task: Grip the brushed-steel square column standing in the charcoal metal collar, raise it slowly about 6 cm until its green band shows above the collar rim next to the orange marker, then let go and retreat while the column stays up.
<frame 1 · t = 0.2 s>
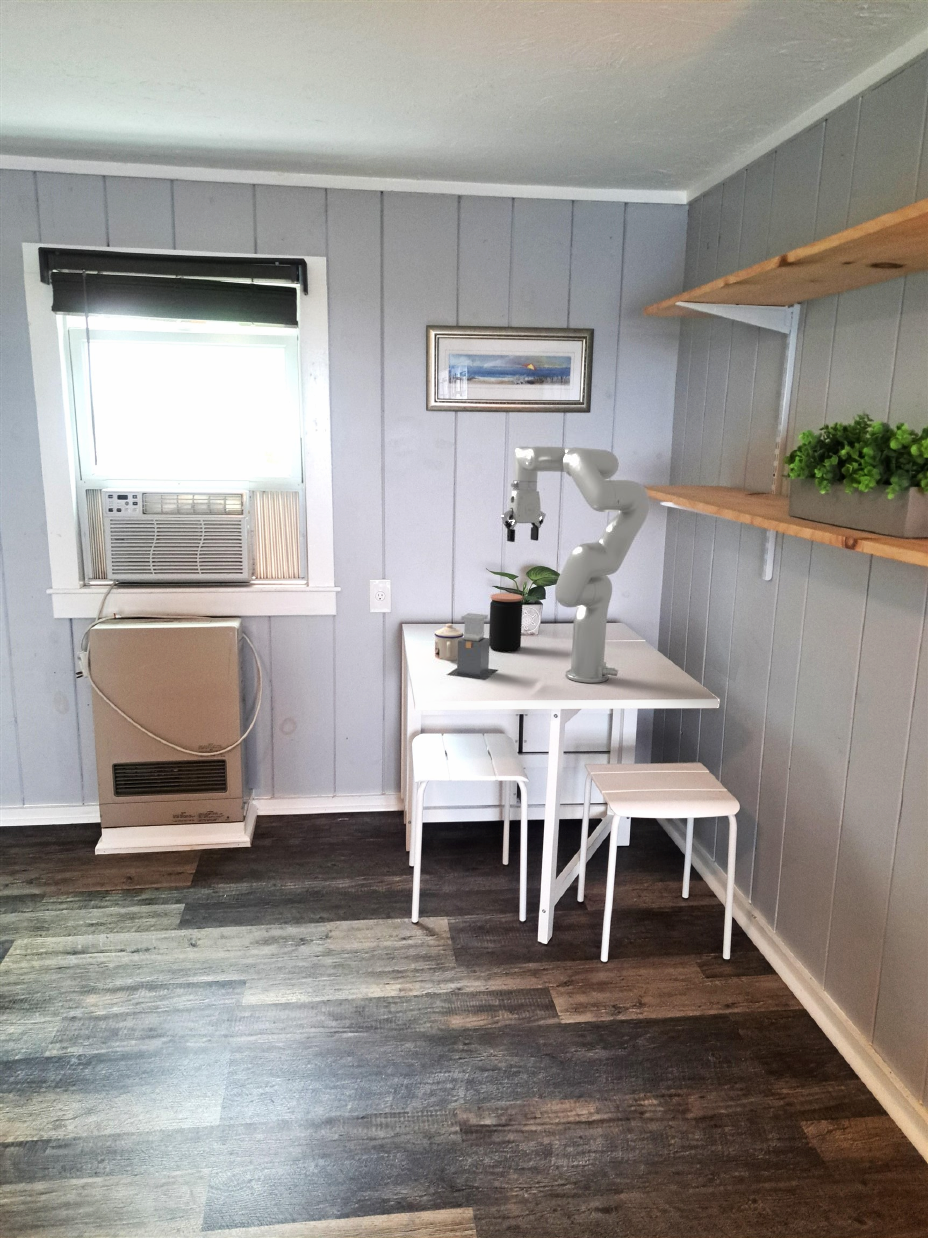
hand: (522, 540, 268), 37 cm above the table, tool pointing down, fingers open, 9 cm apart
stand: (472, 676, 248), on the table
column: (473, 644, 246), point 10 cm above the table, slide at 0.0 cm
teacup with lid: (448, 662, 264), on the table
coffee jar: (504, 649, 282), on the table
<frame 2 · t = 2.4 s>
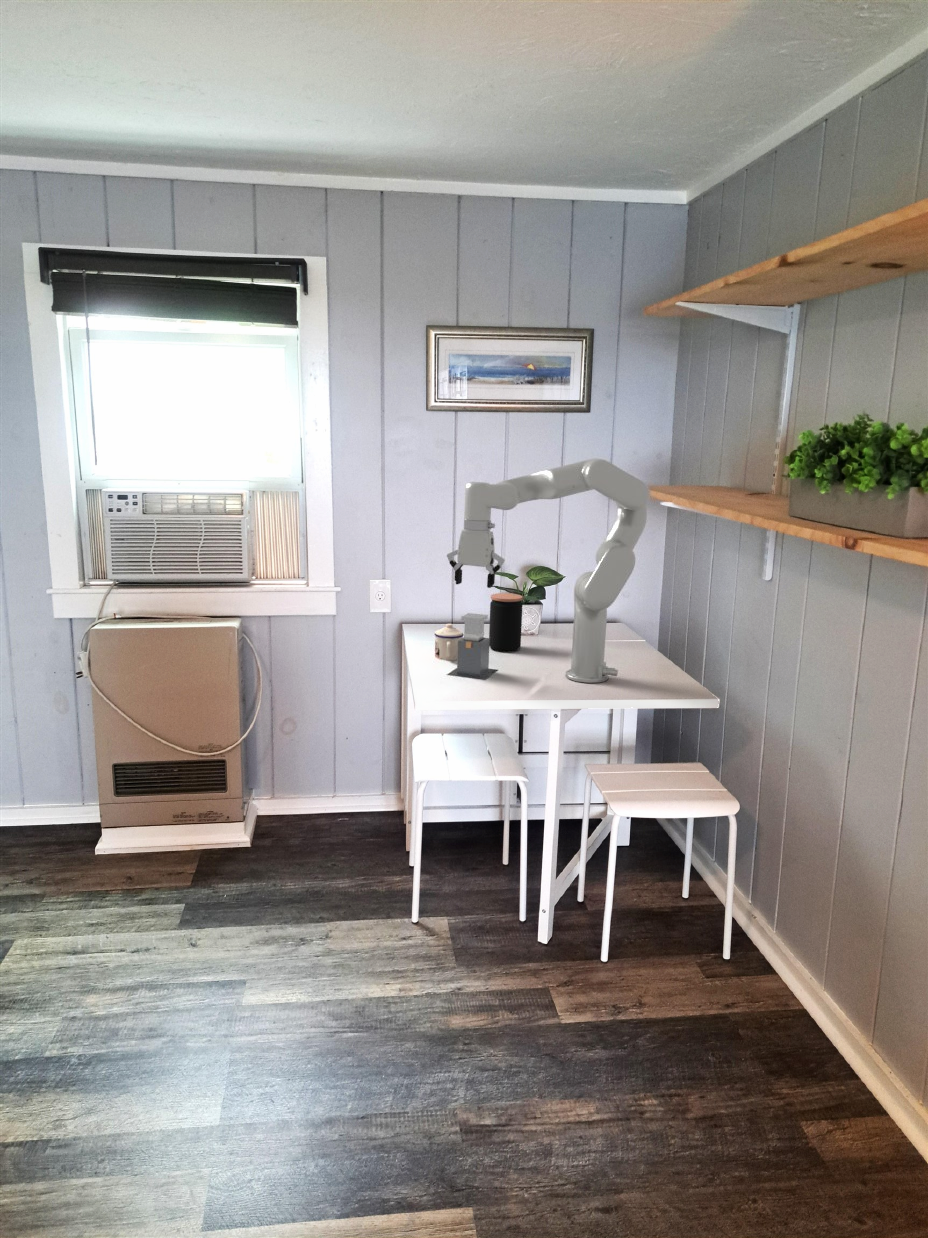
hand: (474, 585, 242), 27 cm above the table, tool pointing down, fingers open, 9 cm apart
nothing on the table moved.
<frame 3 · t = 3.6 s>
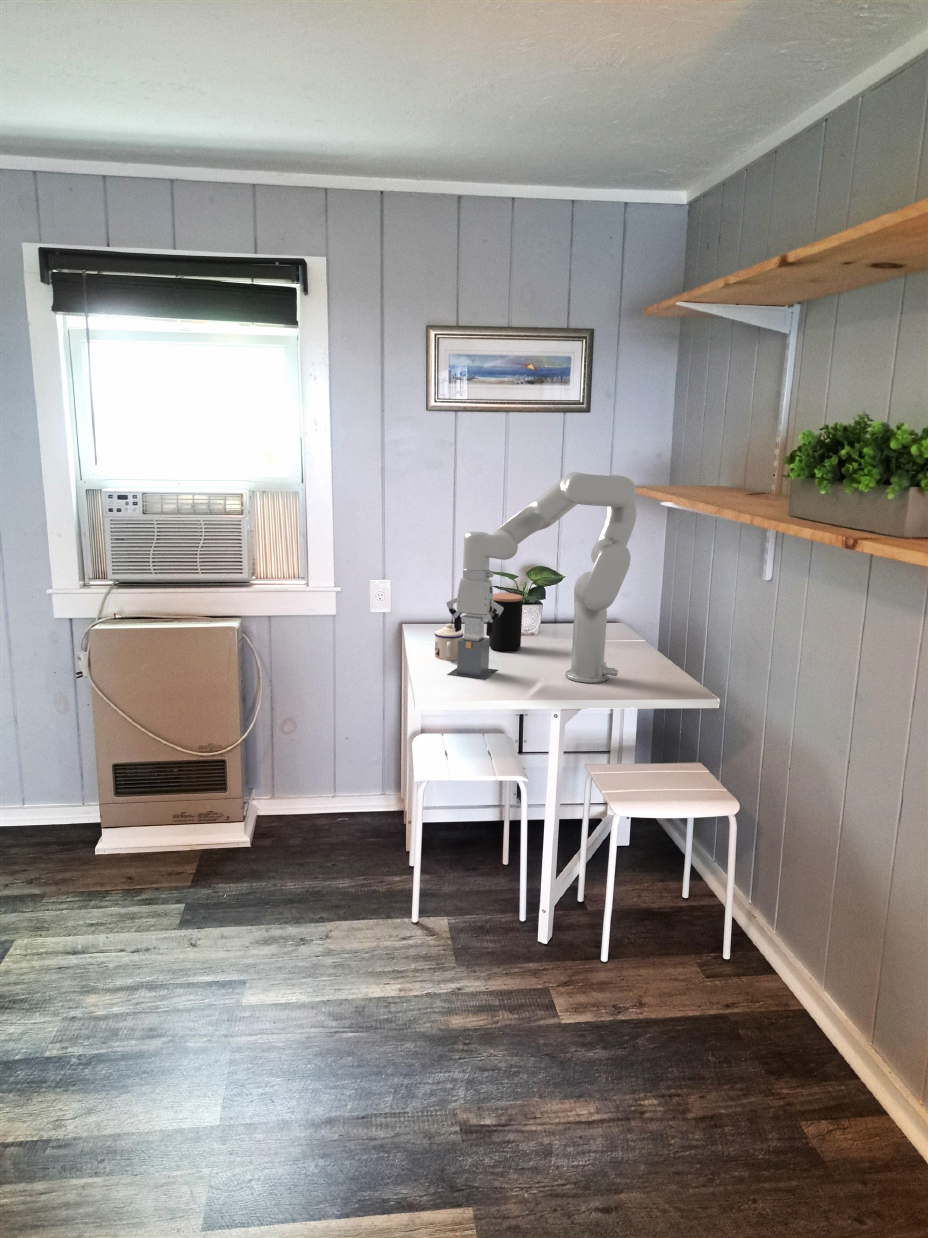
hand: (473, 632, 245), 13 cm above the table, tool pointing down, fingers open, 9 cm apart
nothing on the table moved.
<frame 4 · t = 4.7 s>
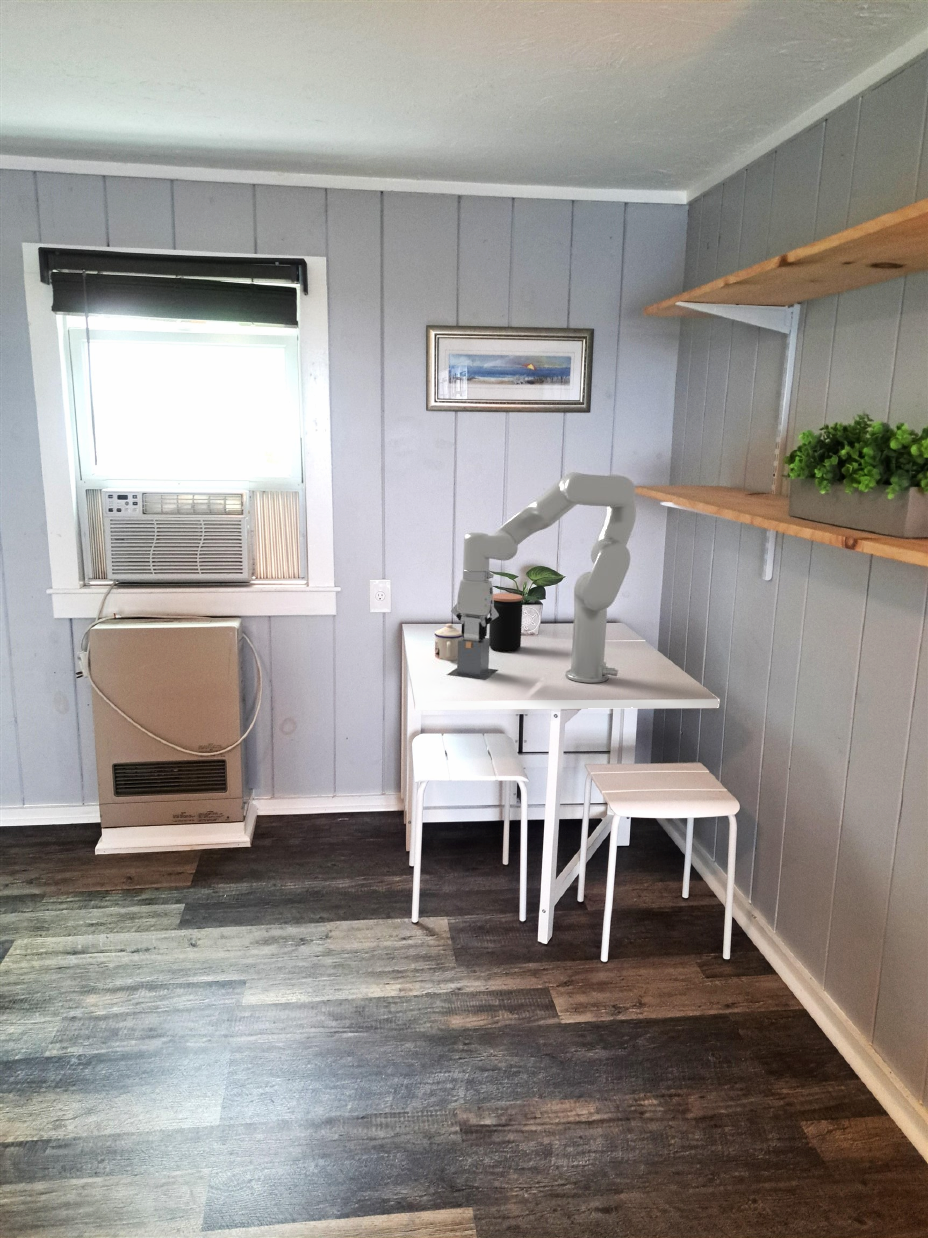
hand: (473, 637, 246), 12 cm above the table, tool pointing down, fingers closed on column, 4 cm apart
column: (473, 644, 246), point 10 cm above the table, slide at 0.0 cm, touching gripper, stand
everything else where it was.
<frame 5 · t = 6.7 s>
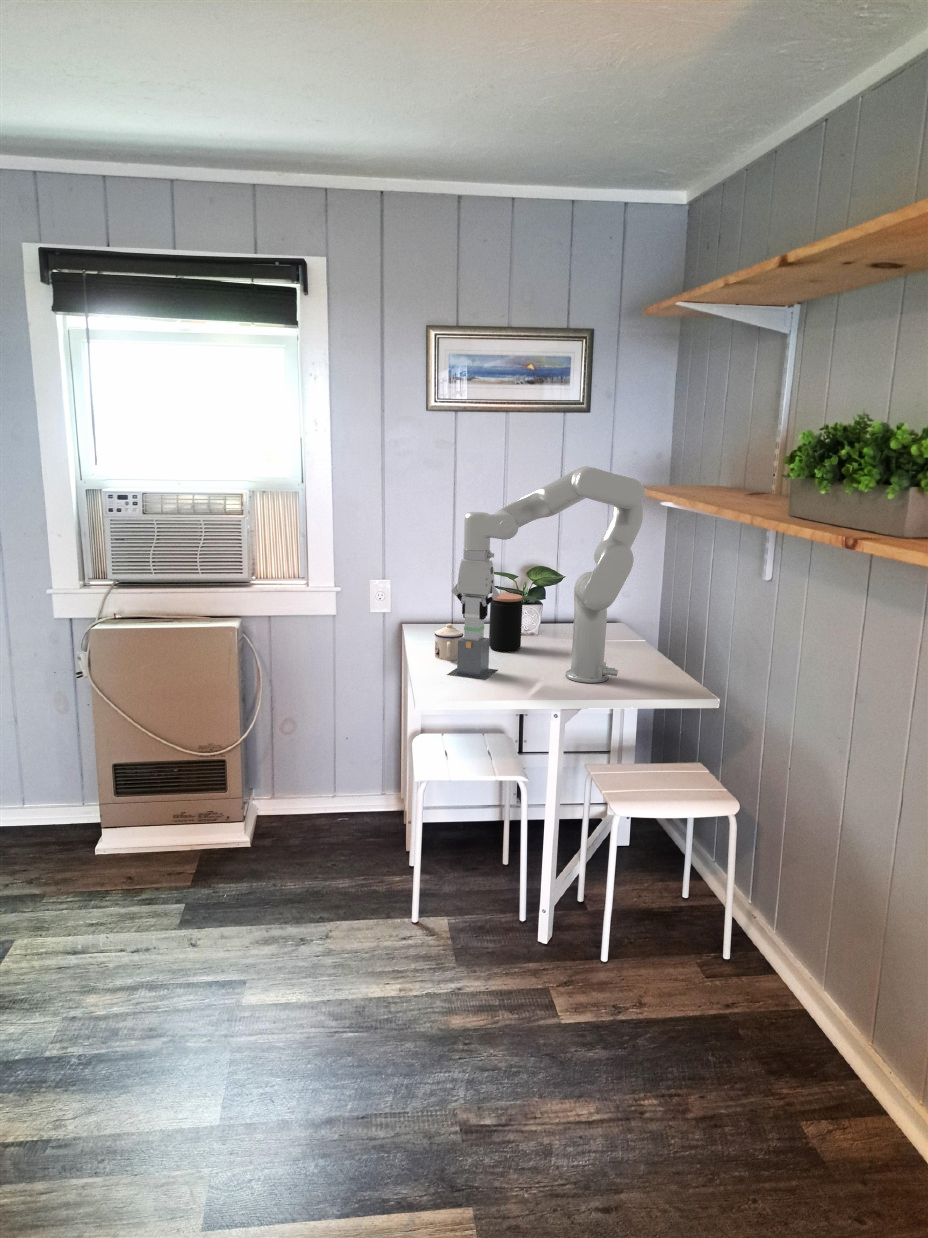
hand: (474, 617, 244), 18 cm above the table, tool pointing down, fingers closed on column, 4 cm apart
column: (474, 624, 245), point 16 cm above the table, slide at 5.9 cm, touching gripper
everything else where it was.
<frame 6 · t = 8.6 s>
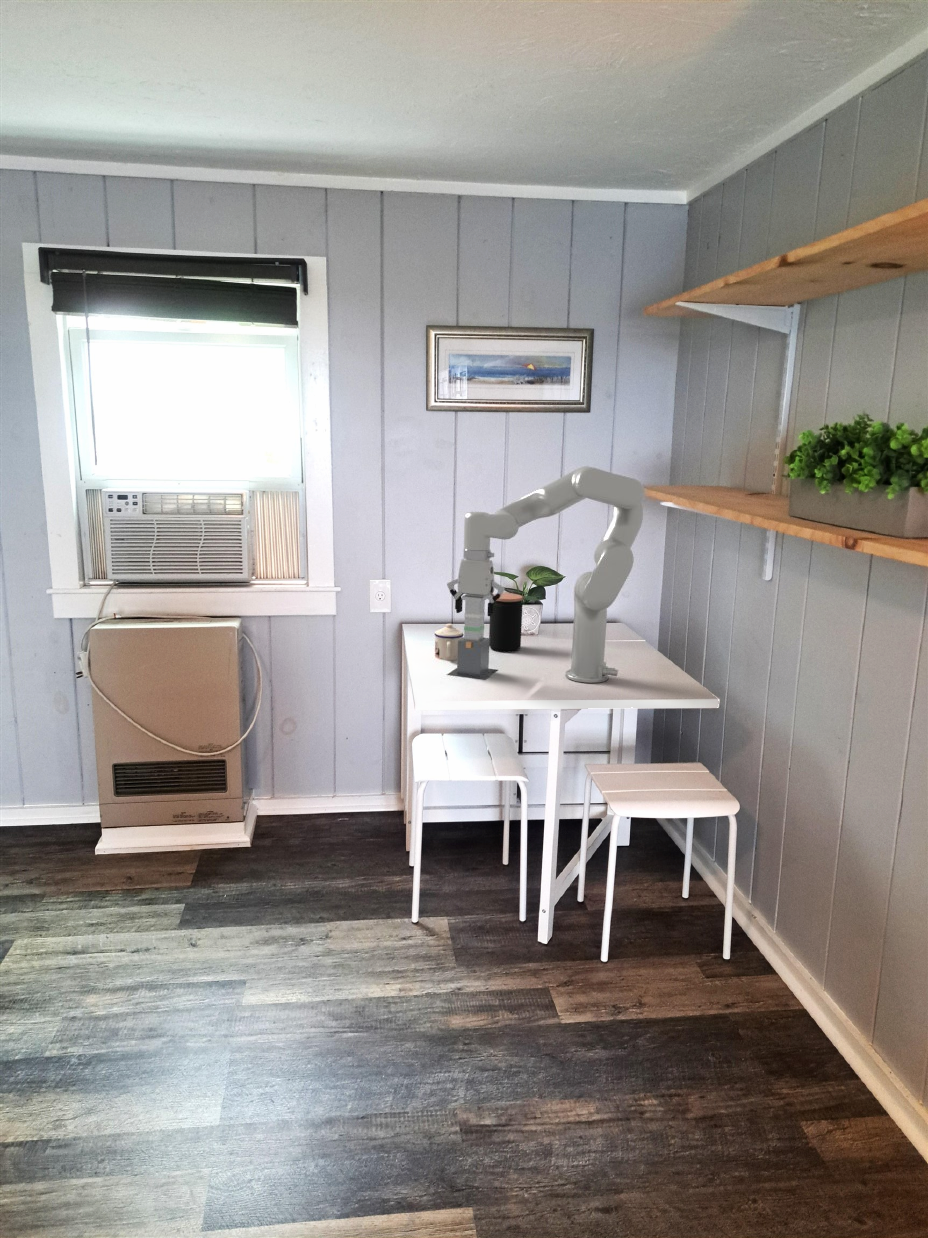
hand: (474, 613, 244), 19 cm above the table, tool pointing down, fingers open, 9 cm apart
column: (474, 624, 245), point 16 cm above the table, slide at 6.0 cm
everything else where it was.
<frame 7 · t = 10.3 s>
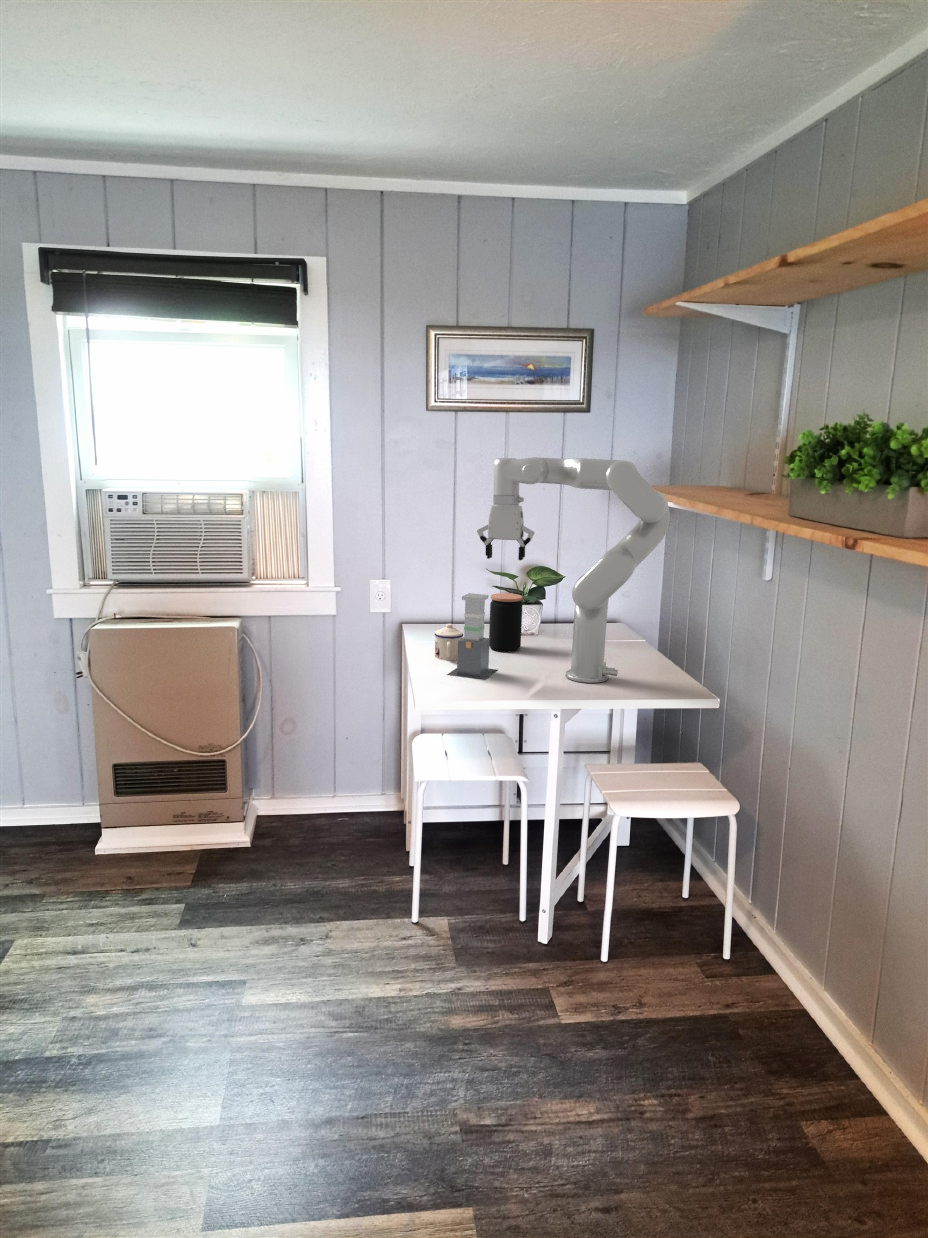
hand: (505, 559, 249), 34 cm above the table, tool pointing down, fingers open, 9 cm apart
nothing on the table moved.
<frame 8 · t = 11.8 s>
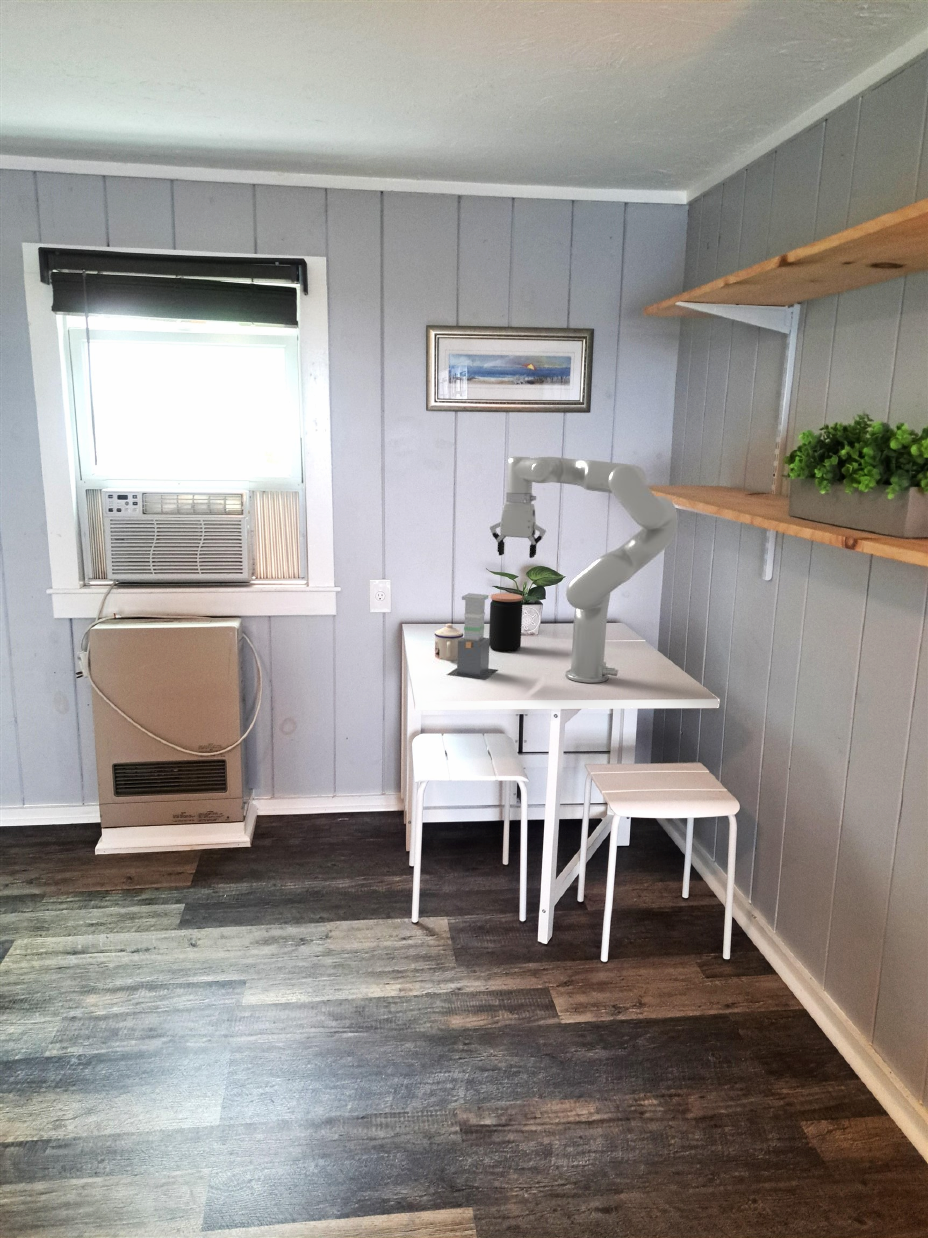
hand: (516, 556, 253), 34 cm above the table, tool pointing down, fingers open, 9 cm apart
nothing on the table moved.
at the end: column slide at 6.0 cm; the gripper is holding nothing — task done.
